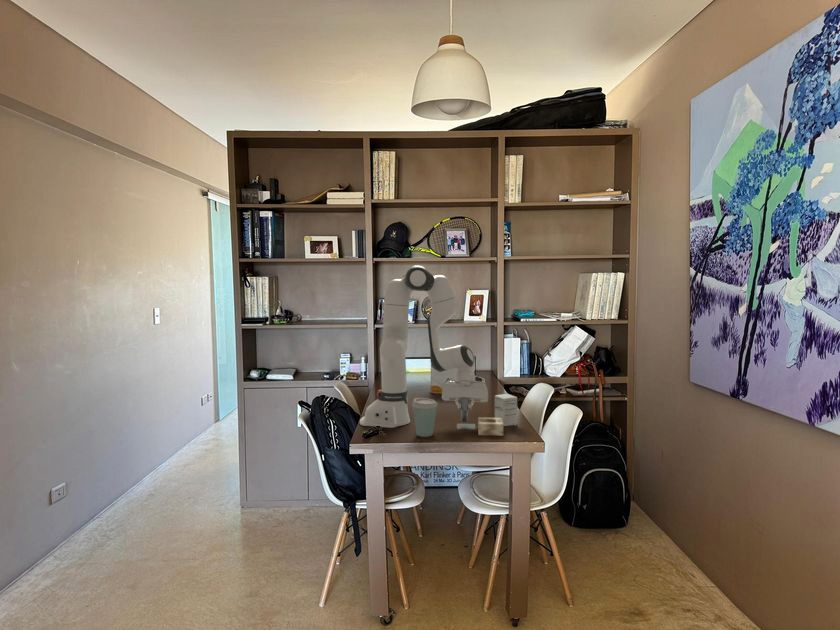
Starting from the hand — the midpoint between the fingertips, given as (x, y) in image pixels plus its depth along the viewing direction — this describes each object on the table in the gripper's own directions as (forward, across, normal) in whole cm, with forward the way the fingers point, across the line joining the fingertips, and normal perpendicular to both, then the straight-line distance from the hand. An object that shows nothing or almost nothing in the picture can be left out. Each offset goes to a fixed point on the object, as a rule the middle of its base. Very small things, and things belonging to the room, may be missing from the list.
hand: (464, 408), depth 229 cm
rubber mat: (+5, +1, +6) cm, 8 cm away
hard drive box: (-41, -10, +53) cm, 68 cm away
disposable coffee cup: (+15, -16, -2) cm, 22 cm away
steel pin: (+3, 0, +4) cm, 5 cm away
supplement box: (+1, +18, +10) cm, 21 cm away
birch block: (+10, +11, +1) cm, 15 cm away
